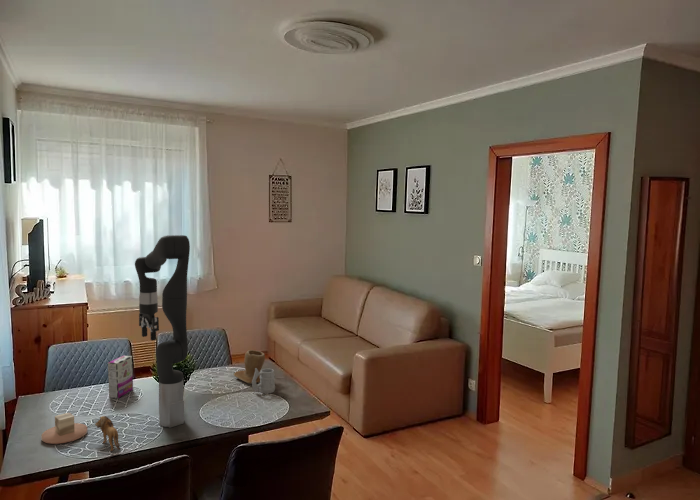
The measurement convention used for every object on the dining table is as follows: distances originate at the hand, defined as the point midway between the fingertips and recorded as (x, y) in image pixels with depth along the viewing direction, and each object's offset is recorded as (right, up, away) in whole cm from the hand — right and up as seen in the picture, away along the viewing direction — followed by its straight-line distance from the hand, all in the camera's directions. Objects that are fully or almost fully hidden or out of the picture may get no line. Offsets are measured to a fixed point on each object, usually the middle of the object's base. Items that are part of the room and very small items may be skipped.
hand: (148, 338), depth 221 cm
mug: (+48, -28, +16) cm, 58 cm away
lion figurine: (+1, -32, -39) cm, 50 cm away
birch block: (-18, -29, -33) cm, 48 cm away
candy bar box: (-16, -27, +9) cm, 33 cm away
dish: (-18, -31, -33) cm, 49 cm away
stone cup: (+39, -27, +31) cm, 56 cm away
